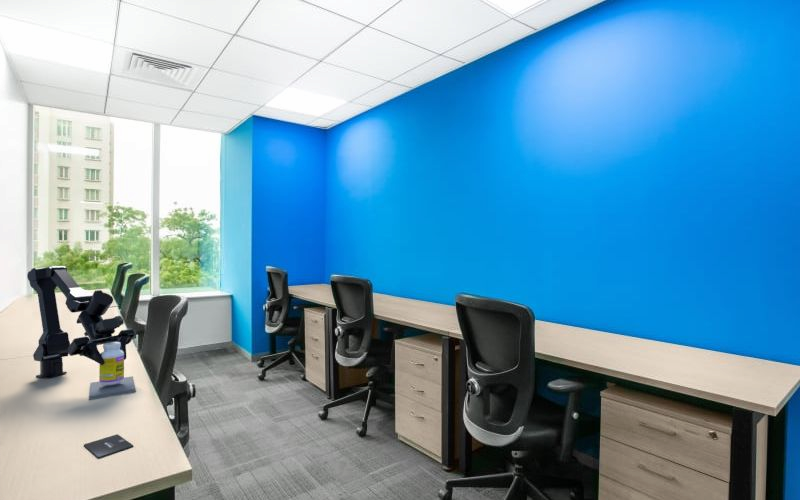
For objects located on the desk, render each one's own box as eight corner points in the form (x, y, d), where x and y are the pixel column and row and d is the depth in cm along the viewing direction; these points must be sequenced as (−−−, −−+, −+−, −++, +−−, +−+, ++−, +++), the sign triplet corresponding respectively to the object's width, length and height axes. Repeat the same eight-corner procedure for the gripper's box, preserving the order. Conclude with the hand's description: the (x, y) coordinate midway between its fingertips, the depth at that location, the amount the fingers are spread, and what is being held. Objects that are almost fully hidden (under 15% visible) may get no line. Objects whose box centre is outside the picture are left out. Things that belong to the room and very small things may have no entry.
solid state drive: (117, 436, 103) (117, 433, 103) (133, 448, 97) (133, 445, 97) (83, 447, 98) (83, 444, 98) (98, 460, 91) (98, 457, 91)
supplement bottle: (117, 385, 134) (117, 345, 134) (94, 386, 133) (94, 346, 133) (128, 379, 141) (128, 340, 141) (106, 379, 140) (106, 341, 140)
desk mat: (90, 385, 140) (90, 382, 140) (132, 379, 147) (132, 376, 147) (88, 399, 127) (88, 396, 127) (135, 391, 134) (135, 388, 134)
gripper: (72, 313, 130) (94, 352, 126) (132, 305, 147) (153, 340, 143) (58, 335, 134) (78, 375, 129) (118, 325, 150) (138, 360, 146)
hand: (114, 361), depth 137 cm, fingers closed on supplement bottle, 6 cm apart
